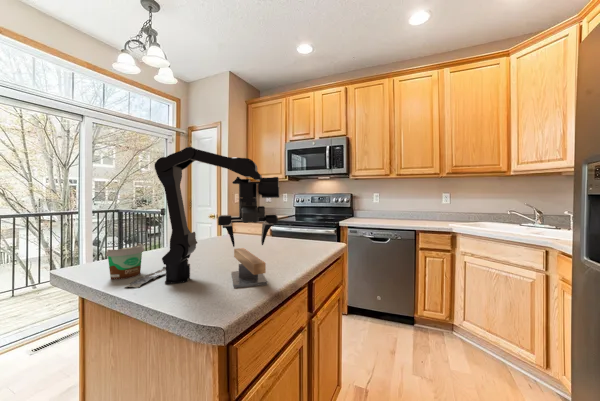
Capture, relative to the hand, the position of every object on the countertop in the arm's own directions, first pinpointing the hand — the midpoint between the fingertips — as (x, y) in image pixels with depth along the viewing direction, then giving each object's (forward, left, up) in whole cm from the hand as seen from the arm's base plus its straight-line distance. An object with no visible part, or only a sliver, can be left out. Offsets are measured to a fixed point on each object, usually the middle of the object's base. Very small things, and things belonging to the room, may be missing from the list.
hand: (248, 245), depth 85 cm
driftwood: (-30, +12, -12) cm, 35 cm away
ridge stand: (0, 0, -11) cm, 11 cm away
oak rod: (0, 0, -6) cm, 6 cm away
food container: (-38, +16, -11) cm, 43 cm away
